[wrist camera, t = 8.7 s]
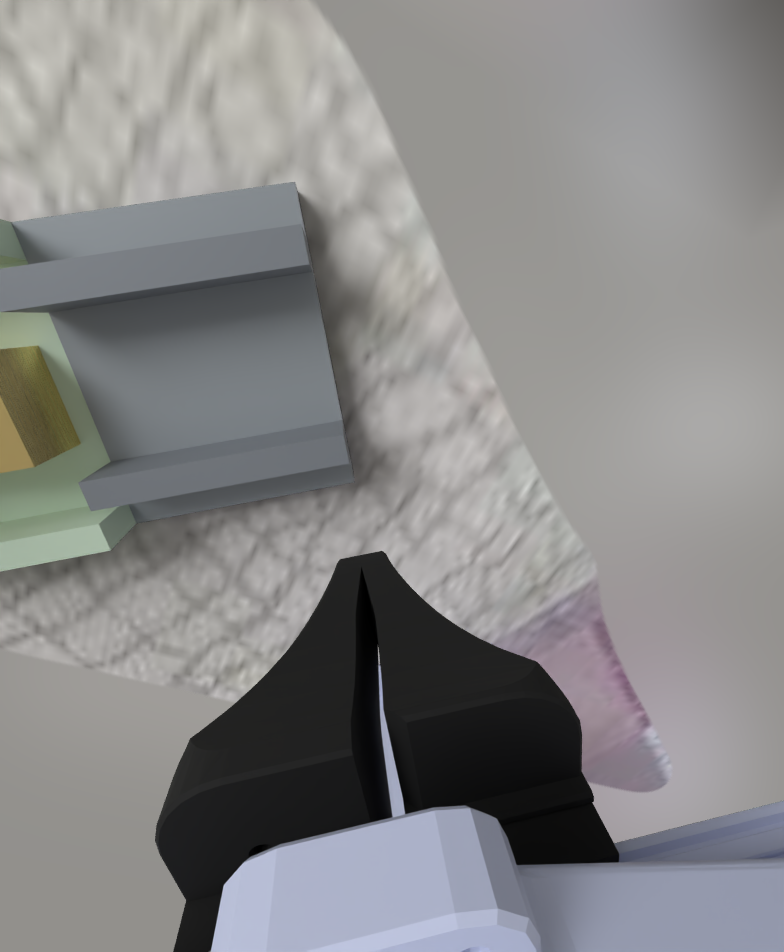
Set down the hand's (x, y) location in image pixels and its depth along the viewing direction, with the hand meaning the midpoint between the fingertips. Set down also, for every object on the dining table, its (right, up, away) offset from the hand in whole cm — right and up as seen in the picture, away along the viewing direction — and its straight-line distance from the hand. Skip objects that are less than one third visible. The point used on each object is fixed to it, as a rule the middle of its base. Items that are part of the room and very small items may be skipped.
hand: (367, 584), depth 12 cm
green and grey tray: (-12, +7, +6) cm, 15 cm away
